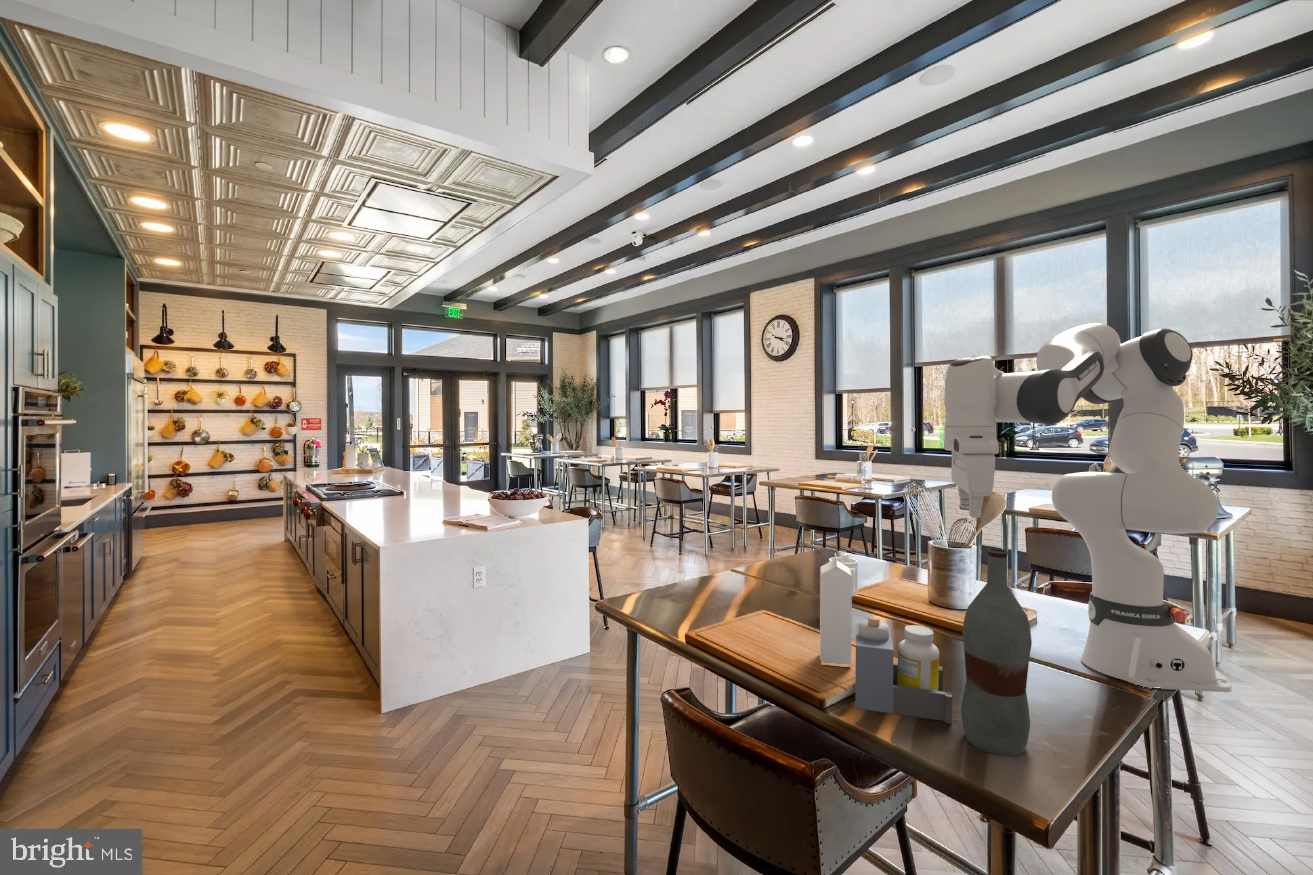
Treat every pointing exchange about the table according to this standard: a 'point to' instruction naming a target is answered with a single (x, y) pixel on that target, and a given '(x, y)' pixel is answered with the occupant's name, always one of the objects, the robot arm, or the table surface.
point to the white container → (852, 564)
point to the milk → (835, 613)
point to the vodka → (996, 665)
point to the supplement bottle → (918, 659)
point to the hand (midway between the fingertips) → (970, 512)
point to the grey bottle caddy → (892, 679)
